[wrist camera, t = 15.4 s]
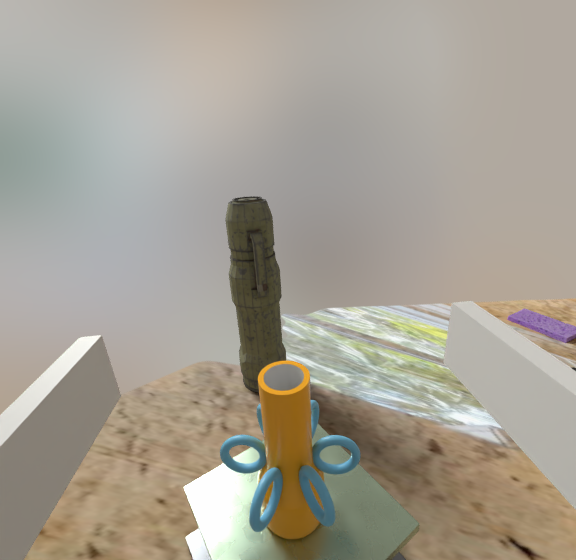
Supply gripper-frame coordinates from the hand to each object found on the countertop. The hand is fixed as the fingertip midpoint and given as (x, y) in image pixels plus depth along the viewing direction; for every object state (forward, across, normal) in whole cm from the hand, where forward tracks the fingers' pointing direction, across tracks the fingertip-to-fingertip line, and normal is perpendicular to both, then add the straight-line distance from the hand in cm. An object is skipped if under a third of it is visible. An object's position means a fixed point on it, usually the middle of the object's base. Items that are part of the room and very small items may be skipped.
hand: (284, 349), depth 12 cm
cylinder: (+10, 0, -24) cm, 26 cm away
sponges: (+50, +63, -35) cm, 88 cm away
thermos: (+41, -3, -34) cm, 54 cm away
